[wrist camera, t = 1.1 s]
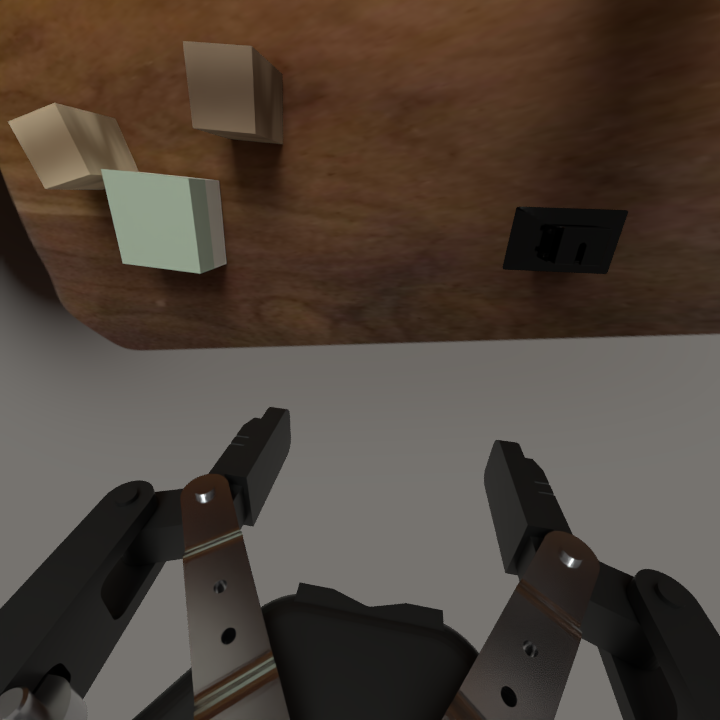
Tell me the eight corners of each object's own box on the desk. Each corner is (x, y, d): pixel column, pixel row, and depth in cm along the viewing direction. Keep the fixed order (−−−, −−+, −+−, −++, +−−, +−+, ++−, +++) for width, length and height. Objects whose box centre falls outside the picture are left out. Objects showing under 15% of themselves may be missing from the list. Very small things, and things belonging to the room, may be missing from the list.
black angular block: (484, 274, 33) (494, 285, 29) (500, 193, 30) (513, 193, 26) (617, 281, 32) (647, 294, 28) (649, 197, 28) (689, 197, 24)
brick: (74, 133, 32) (7, 121, 27) (115, 118, 31) (54, 102, 26) (102, 189, 34) (45, 189, 29) (141, 177, 33) (90, 174, 28)
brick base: (142, 172, 33) (100, 168, 28) (219, 180, 32) (188, 178, 28) (157, 254, 36) (122, 263, 32) (226, 263, 36) (200, 273, 31)
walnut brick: (226, 69, 28) (182, 41, 23) (282, 74, 28) (251, 46, 22) (231, 139, 30) (192, 127, 25) (283, 144, 30) (255, 133, 25)
